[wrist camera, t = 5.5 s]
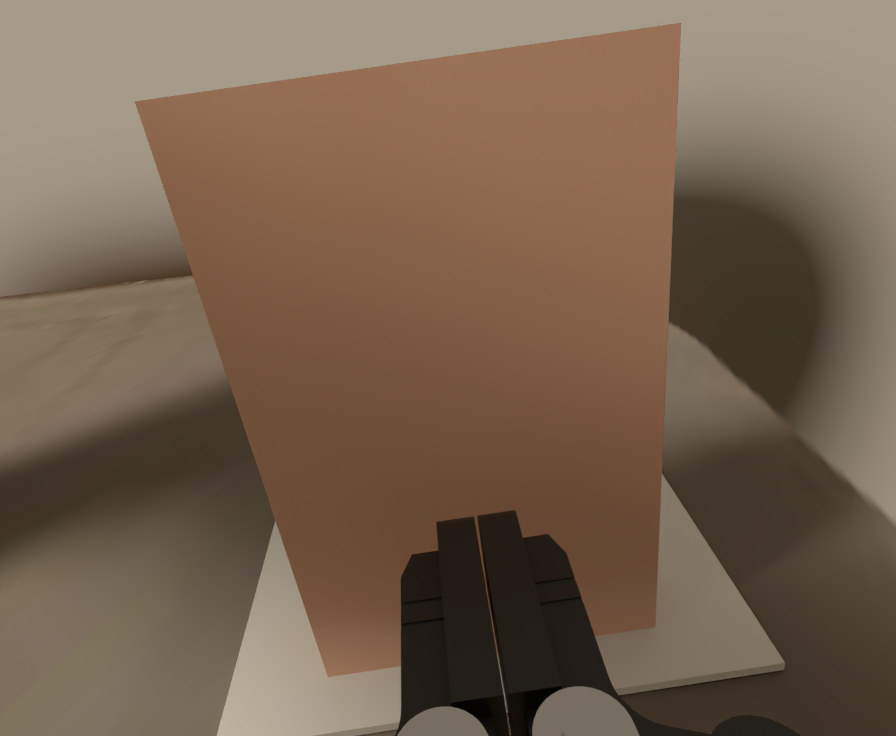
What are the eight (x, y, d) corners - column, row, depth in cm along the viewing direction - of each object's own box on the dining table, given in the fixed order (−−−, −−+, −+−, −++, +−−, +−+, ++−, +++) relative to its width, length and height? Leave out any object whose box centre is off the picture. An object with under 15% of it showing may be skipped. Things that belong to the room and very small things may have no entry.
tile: (655, 627, 18) (681, 22, 11) (327, 677, 18) (135, 101, 11) (625, 562, 20) (630, 31, 13) (336, 606, 20) (182, 95, 13)
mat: (783, 670, 17) (785, 662, 17) (216, 757, 17) (212, 750, 16) (575, 345, 36) (575, 341, 36) (314, 384, 36) (313, 379, 36)
